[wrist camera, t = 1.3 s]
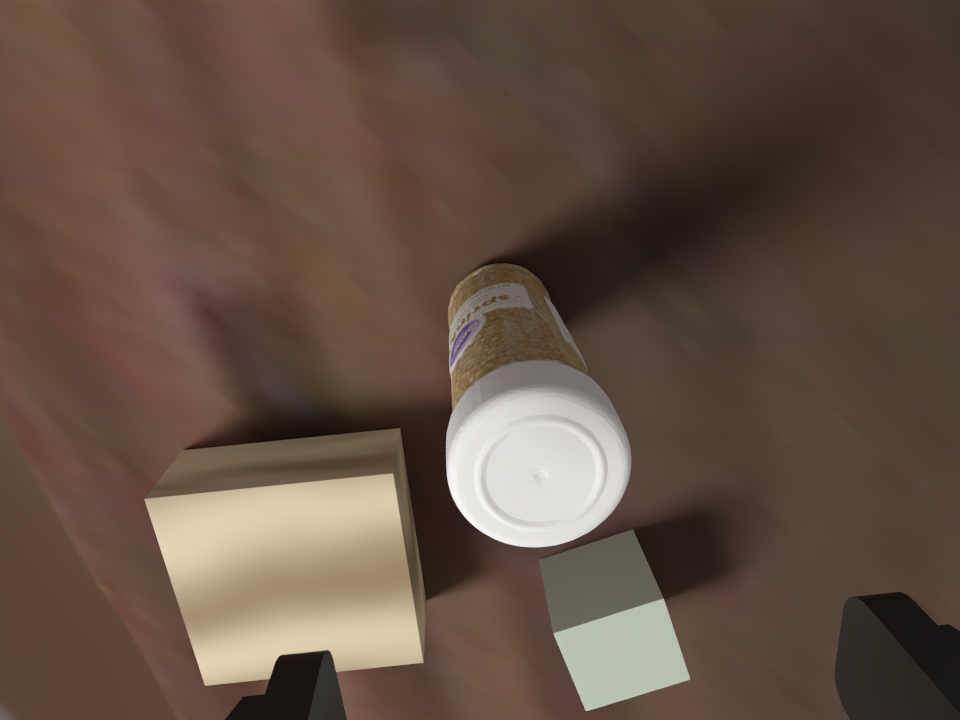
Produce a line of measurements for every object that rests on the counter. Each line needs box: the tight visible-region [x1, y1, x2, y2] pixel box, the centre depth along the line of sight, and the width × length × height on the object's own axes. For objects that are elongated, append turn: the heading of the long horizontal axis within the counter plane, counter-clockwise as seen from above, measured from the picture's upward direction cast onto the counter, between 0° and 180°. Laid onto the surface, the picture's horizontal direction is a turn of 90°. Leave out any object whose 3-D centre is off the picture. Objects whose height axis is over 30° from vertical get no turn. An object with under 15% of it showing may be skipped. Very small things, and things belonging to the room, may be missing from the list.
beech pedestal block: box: [144, 428, 426, 686], centre depth 29 cm, size 10×10×4 cm
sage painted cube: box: [539, 529, 690, 711], centre depth 31 cm, size 5×5×5 cm
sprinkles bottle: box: [446, 263, 631, 547], centre depth 22 cm, size 5×4×13 cm
